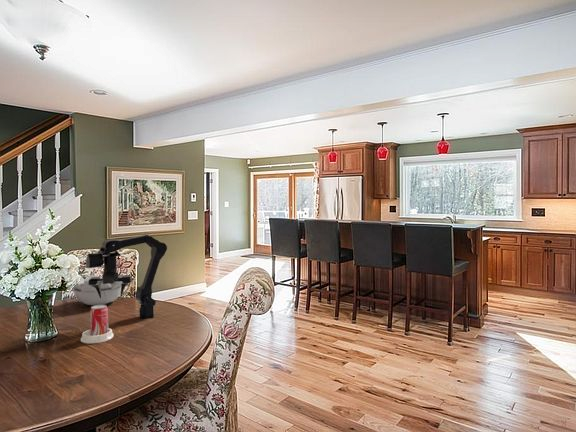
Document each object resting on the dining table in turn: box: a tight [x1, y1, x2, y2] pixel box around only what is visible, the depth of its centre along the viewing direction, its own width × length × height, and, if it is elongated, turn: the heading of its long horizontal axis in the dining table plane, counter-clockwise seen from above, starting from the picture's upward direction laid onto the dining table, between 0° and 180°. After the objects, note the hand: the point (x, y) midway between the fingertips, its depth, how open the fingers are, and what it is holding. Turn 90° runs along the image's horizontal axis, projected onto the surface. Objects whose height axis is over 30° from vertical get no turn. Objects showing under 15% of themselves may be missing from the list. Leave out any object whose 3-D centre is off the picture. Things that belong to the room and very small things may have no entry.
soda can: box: [89, 304, 109, 336], centre depth 177 cm, size 7×7×13 cm
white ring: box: [80, 327, 114, 345], centre depth 176 cm, size 13×13×3 cm
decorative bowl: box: [71, 273, 125, 306], centre depth 234 cm, size 30×30×15 cm
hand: (111, 297), depth 196 cm, fingers open, 9 cm apart
